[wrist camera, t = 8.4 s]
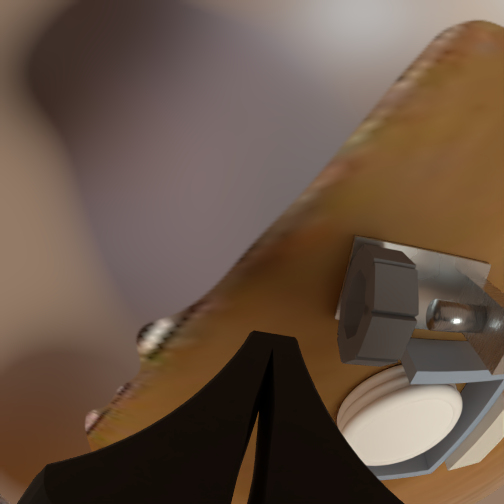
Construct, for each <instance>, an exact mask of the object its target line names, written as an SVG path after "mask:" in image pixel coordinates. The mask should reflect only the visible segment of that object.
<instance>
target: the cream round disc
mask: <svg viewBox="0 0 504 504" xmlns="http://www.w3.org/2000/svg"><path fill="white" fill-rule="evenodd" d="M461 412H462V397H461V395H460V393H459V392H458V391H457V387H456V385H455V383H451V384H410V383H409V380H408V378H407V375H406V373H405V370H404V368H403V365H398V366H394V367H392V368H389V369H386V370H384V371H382V372H380V373H377V374H375V375H374V376H372V377H370V378H368V379H367V380H365V381H364V382H362V383H361V384H360V385H358V386H357V387H356V388H355V389H354V390H353V391H352V392H351V393H350V394H349V395H348V396H347V397H346V398H345V400H344V401H343V403H342V405H341V407H340V409H339V412H338V416H337V426H338V429H339V430H340V432H341V433H342V435H343V436H344V438H345V439H346V441H347V442H348V443H349V445H350V446H351V447H352V449H353V450H354V451H355V453H356V454H357V455H358V457H359V458H360V459H361V460H362V461H363V463H364V464H365V465H367V466H381V465H389V464H394V463H398V462H402V461H405V460H408V459H410V458H413V457H415V456H417V455H419V454H421V453H423V452H425V451H427V450H429V449H430V448H432V447H433V446H435V445H436V444H437V443H439V442H440V441H441V440H442V439H443V438H444V437H445V436H446V435H447V434H448V433H449V432H450V431H451V430H452V429H453V427H454V426H455V424H456V423H457V421H458V419H459V417H460V415H461Z"/></svg>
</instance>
